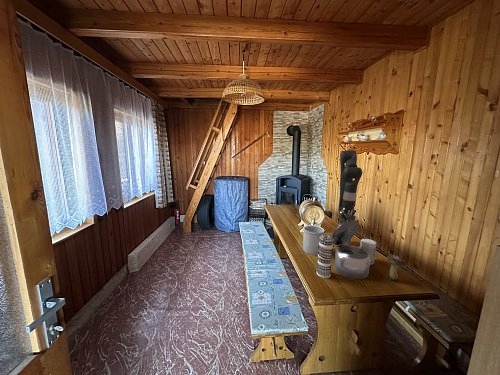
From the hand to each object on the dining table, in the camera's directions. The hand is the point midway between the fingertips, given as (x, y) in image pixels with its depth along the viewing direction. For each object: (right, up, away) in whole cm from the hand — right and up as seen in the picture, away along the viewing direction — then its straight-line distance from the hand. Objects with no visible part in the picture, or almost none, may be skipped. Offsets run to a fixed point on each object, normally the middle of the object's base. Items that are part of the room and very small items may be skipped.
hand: (346, 224), depth 140 cm
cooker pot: (+3, -29, -1) cm, 29 cm away
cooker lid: (0, -5, +1) cm, 5 cm away
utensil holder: (-15, -24, +24) cm, 37 cm away
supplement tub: (+18, -27, +9) cm, 34 cm away
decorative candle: (-17, -30, -6) cm, 35 cm away
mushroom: (+23, -31, -11) cm, 40 cm away
